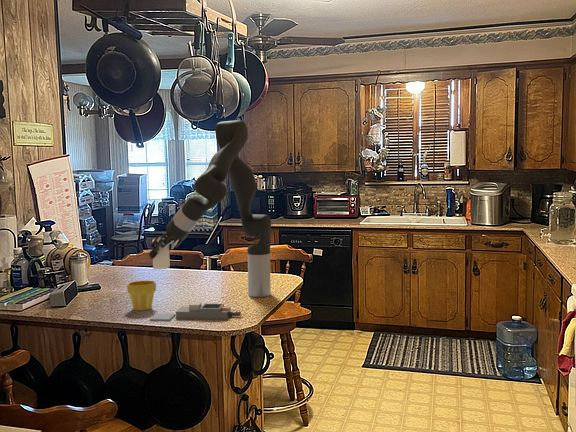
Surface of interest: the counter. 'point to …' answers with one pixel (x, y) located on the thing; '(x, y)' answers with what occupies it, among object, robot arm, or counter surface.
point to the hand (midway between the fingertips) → (157, 255)
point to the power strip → (205, 311)
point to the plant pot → (141, 294)
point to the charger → (162, 258)
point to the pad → (162, 317)
